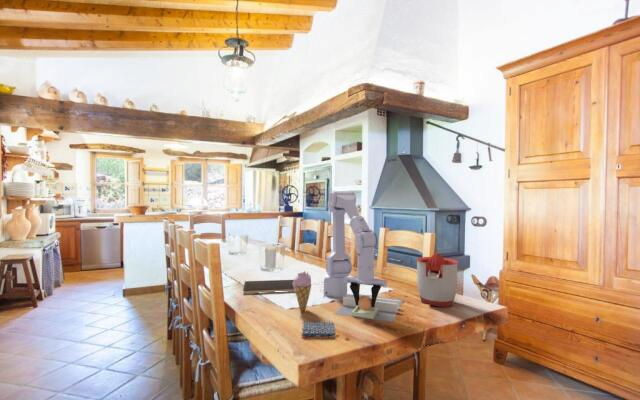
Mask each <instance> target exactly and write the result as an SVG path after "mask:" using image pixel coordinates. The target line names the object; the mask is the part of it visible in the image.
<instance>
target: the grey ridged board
mask: <svg viewBox="0 0 640 400" xmlns="http://www.w3.org/2000/svg"><path fill="white" fill-rule="evenodd" d="M365 295H366V296H369V297H370V298H371V299H372V295H369V294H368V295H367V294H362V293H361V294H360V293H359V298H360V297H361V296H365ZM404 302H405V301H404V299H399V298H391V297H386V296H385V297H382V296H377V298H376V302H375V307H374V308H378V313H377V315H376V316H375V317H374V319H371V320H374V321H381V322H387V323H393V322H394V320H395V318H396V316H397V314H398V313H399V310H400V308H401V307H402V304H403V303H404ZM357 306H358V305H356V303H355V298H354V295H353V294H350V293H347V294H346V296H345V297H342V306H340V307H339V309H337V310H336V311H335V312H334V315H340V316H348V317H353V318H354V317H355V318H357V317H356V316H352V311H353V310H354V309H355V308H356V307H357ZM358 318H360V319H361V318H362V317H358ZM362 319H363V318H362ZM365 319H368V320H370V319H369V318H365Z"/></svg>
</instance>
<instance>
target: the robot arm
mask: <svg viewBox="0 0 640 400" xmlns="http://www.w3.org/2000/svg"><path fill="white" fill-rule="evenodd" d="M356 205H357V196H356V193H355V192H354V191H334V190H333V191H331V192H330V194H329V196H328V208H329V210H328V211H329V212H330V213H332V252H331V253H330V254H328V255H327V256H326V263H325V272H326V273H327V274H326V275H325V276H324V279H323V296H322V298H323V299H324V298H326V297H328V296H329V297H334V298H343V297H346V294H348V284H350V285H349V288H350V291H351V292H352V295H354V298H355V303H356V305H358V300H359V294H360V288H361V285H365V286H366V285H367V286H371V288H370V291H371V296H372V307H373V308H374V307H375V302H376V298H377V297H378V295H379V292H380V290H381V288H387V287H388V280H384V279H380V278H379V279H378V278H375V248H377V246H378V243H379V242H378V241H379V239H378V235H377V232H376V231H373V230H372V229H370V227H369V225H368V223H367V222H366V219H365V217H364V216H361V215H360V213H359V211H358V208H357V206H356ZM345 214H347V216H348V218H349V219H350V221H349V226H350V228H351V230H352V232H353V235H354V245H355V252H356V253H357V272H356V273H357V274H356V275H357V276H350V274H351V273H352V270H353V264H352V261H351V256H350V255H349V254H348V253H346V244H345V243H346V240H345V239H346V238H345V237H346V232H345V230H346V229H345V225H346V224H345Z"/></svg>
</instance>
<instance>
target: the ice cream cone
mask: <svg viewBox="0 0 640 400" xmlns="http://www.w3.org/2000/svg"><path fill="white" fill-rule="evenodd" d="M311 278H312V276H311V274H309V272H308V271H307V272H306V271H305V270H304V271H303V272H299V273H297V276H295V277H294V278H293V280H294V281H293V283H292V284H293V287H294V290H295V292H294V293H295V296H296V299H297V303H298V308H299V311H300V313H301V314H304V313H305V312H306V310H307V305H308V303H309V302H308V301H309V298H310V293H311V289H312V284H311V283H312V280H311Z"/></svg>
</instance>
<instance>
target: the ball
mask: <svg viewBox="0 0 640 400" xmlns="http://www.w3.org/2000/svg"><path fill="white" fill-rule="evenodd" d="M364 295H365V296H361V297H360V298H359V300H358V305H359V307H360V308H361V309H362V310H364V311H367V310H369V309H371V307H372V299H371V298H370V297H369V296H370V295H369V296H366V295H367V294H364Z"/></svg>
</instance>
